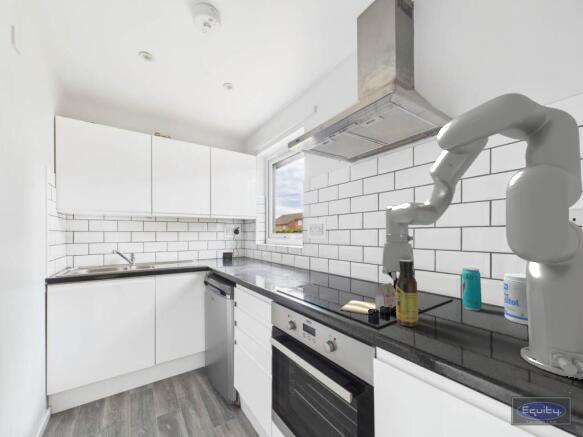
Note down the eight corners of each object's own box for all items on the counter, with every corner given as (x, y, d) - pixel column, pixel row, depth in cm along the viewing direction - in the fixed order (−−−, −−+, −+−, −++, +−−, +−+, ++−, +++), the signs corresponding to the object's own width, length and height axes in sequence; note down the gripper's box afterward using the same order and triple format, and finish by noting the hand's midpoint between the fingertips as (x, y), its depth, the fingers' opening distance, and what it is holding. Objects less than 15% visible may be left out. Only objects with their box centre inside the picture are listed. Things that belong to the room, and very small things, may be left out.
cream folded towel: (370, 315, 87) (370, 313, 87) (340, 310, 93) (340, 308, 93) (379, 305, 99) (379, 303, 99) (352, 301, 105) (351, 300, 105)
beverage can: (461, 306, 98) (460, 267, 99) (479, 307, 96) (478, 268, 97) (464, 310, 93) (462, 269, 94) (483, 312, 91) (481, 270, 92)
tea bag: (375, 311, 91) (375, 283, 92) (387, 308, 95) (386, 281, 95) (384, 314, 88) (383, 285, 89) (395, 311, 92) (395, 283, 92)
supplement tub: (497, 317, 85) (495, 273, 86) (520, 315, 87) (518, 272, 87) (528, 327, 75) (526, 278, 76) (554, 326, 77) (551, 277, 78)
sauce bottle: (397, 319, 83) (395, 258, 84) (418, 322, 80) (416, 259, 81) (395, 326, 77) (394, 260, 78) (418, 329, 74) (416, 261, 75)
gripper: (421, 239, 90) (422, 291, 89) (378, 239, 98) (379, 287, 97) (419, 240, 84) (421, 296, 82) (373, 239, 91) (374, 290, 90)
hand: (398, 291), depth 90 cm, fingers closed
